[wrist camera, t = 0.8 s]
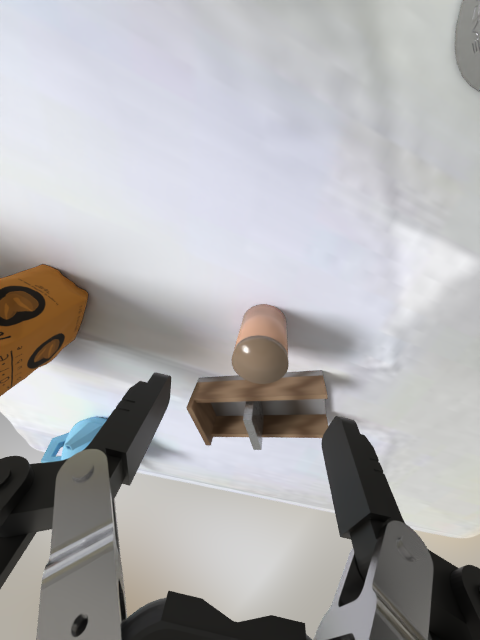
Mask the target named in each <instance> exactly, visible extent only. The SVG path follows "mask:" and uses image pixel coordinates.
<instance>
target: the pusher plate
mask: <svg viewBox="0 0 480 640" xmlns="http://www.w3.org/2000/svg"><path fill="white" fill-rule="evenodd" d="M263 420H264V413H263V410H262V406H261V403H260V401H246V403H245V410H244V416H243V421H244V424H245V427H246V430H247V432H248V435H249V438H250V441H251V444H252V446H253V449H254V450H261V448H262V434H263Z"/></svg>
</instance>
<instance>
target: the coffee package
mask: <svg viewBox="0 0 480 640" xmlns="http://www.w3.org/2000/svg"><path fill="white" fill-rule="evenodd" d="M87 300H88V293H87V292H86V291H85V290H83V289H80V288H79V287H77V286H76V285H75V284H74V283H73V282H72V281H70V280H68V279H67V278H66V277H64V276H63V275H62V274H61V273H60V272H59V271H58V270H57V269H54V268H52V267H50V266H47V265H44V264H42V265H39V266H37V267H34V268H31V269H28V270H25V271H22V272H19V273H16V274H14V275H11V276H7V277H4V278H0V396H1V395H3V394H4V393H5V392H7V391H8V390H9V389H11V388H12V387H13V386H15V385H16V384H18V383H19V382H20V381H22V380H23V379H25V378H26V377H27V376H28V375H30V374H31V373H32V372H33V371H34V370H36V369H37V368H38V367H41V366H43V365H46V364H47V363H49V362H50V361H52V360H53V359H54V358H55V357H56V356H57V355H58V353H59V352H60V351H61V350H62V349H63V348H64V347H65V346H67V345H68V344H69V343H71V342H72V341H73V340H75V338H76V335H77V332H78V330H79V327H80V324H81V322H82V318H83V315H84V311H85V307H86V304H87Z"/></svg>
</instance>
